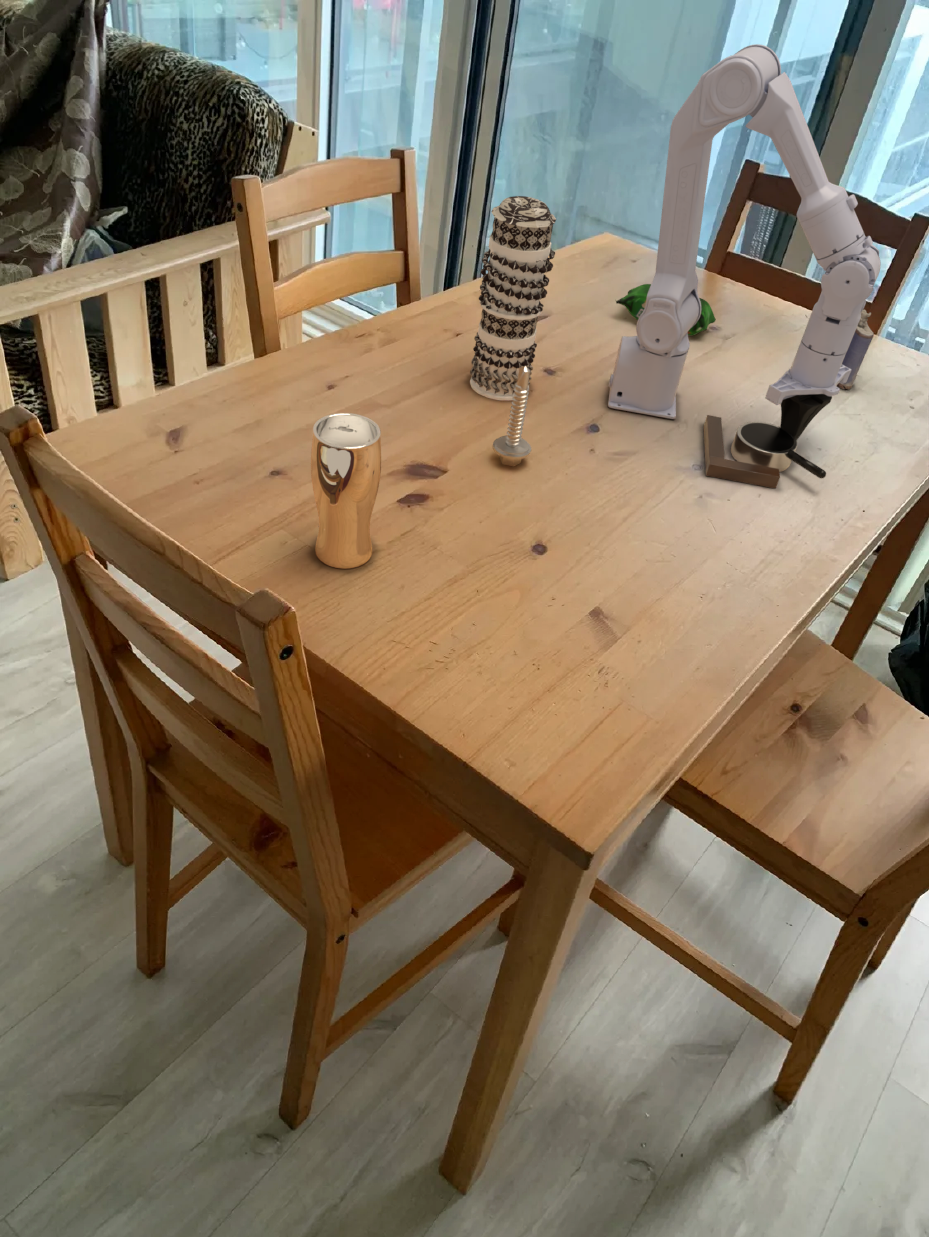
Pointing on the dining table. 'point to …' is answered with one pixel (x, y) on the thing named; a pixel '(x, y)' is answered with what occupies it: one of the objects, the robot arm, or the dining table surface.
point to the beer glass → (345, 486)
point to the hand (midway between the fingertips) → (787, 438)
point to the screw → (515, 425)
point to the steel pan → (769, 447)
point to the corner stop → (730, 468)
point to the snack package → (637, 303)
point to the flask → (857, 349)
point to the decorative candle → (511, 294)
